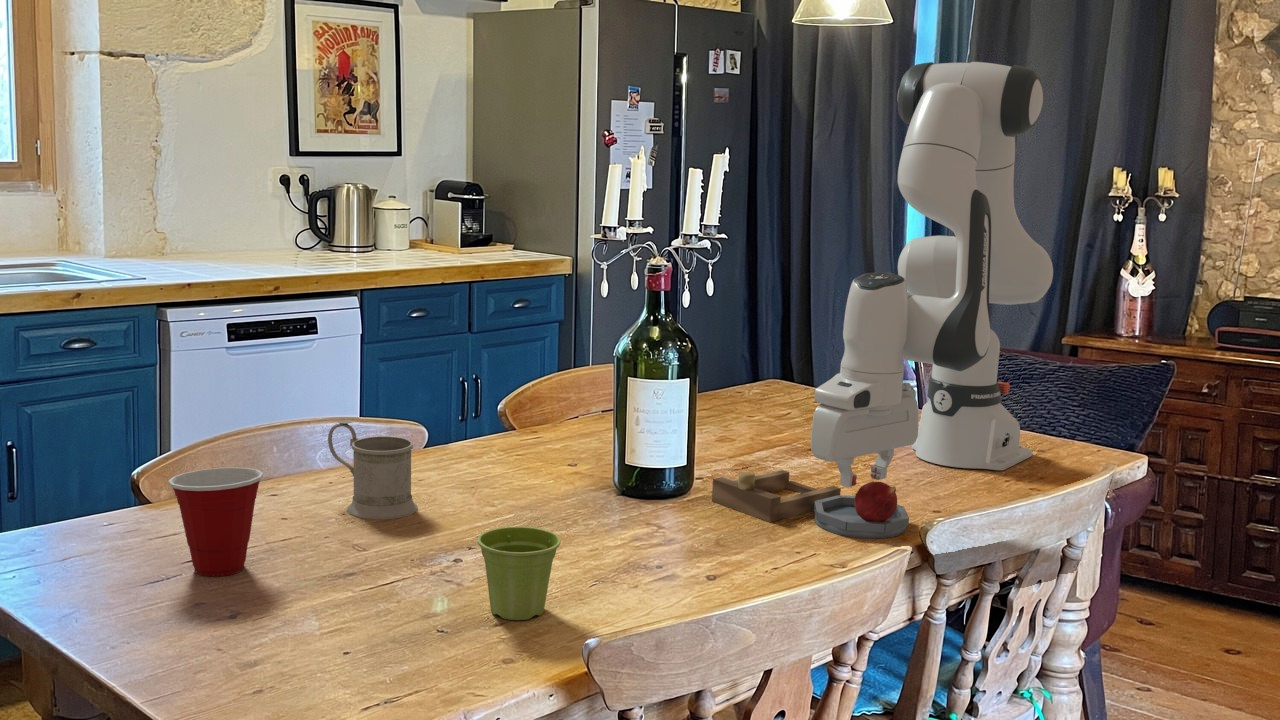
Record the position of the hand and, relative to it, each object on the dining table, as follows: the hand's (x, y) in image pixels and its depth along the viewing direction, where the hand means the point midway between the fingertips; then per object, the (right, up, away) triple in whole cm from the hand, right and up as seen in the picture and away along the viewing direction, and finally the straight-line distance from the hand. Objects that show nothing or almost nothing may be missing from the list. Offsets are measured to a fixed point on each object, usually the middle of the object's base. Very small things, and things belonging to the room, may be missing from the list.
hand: (863, 482), depth 175 cm
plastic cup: (-84, -8, -26) cm, 88 cm away
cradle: (-11, -4, +10) cm, 16 cm away
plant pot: (-46, -11, -35) cm, 59 cm away
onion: (-1, -5, 0) cm, 5 cm away
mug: (-71, -4, 0) cm, 71 cm away
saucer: (0, -6, +1) cm, 6 cm away
